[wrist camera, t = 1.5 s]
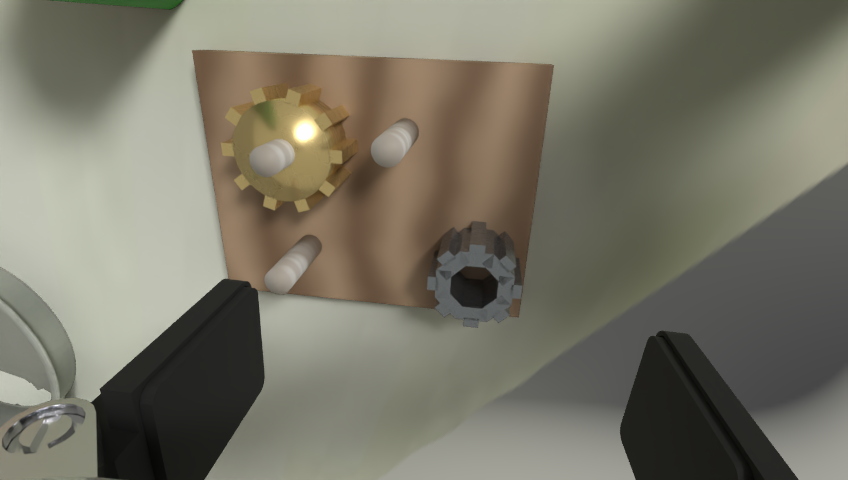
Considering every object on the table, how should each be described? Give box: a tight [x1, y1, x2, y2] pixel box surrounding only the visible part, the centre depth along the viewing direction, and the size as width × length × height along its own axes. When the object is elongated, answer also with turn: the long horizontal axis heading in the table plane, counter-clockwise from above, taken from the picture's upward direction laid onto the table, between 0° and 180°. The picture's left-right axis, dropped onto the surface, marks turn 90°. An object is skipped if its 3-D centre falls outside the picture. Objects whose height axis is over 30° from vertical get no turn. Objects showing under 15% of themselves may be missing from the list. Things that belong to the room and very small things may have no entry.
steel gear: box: [427, 221, 522, 328], centre depth 35 cm, size 7×7×4 cm
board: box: [192, 50, 554, 317], centre depth 34 cm, size 26×20×8 cm
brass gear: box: [221, 83, 358, 212], centre depth 33 cm, size 9×8×4 cm
